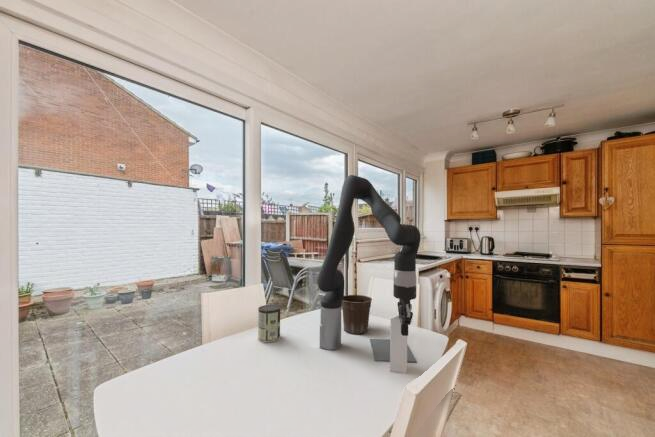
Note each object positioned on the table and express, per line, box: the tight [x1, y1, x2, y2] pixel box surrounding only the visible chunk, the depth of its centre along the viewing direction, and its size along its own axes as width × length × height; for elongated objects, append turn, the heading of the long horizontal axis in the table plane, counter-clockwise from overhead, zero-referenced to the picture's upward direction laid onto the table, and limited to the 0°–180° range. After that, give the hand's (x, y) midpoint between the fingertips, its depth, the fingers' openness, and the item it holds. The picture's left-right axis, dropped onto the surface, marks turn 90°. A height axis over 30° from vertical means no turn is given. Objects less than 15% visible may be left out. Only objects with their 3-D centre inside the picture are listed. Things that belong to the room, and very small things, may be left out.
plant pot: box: [341, 294, 373, 335], centre depth 144 cm, size 16×16×16 cm
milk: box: [389, 310, 408, 374], centre depth 105 cm, size 6×6×22 cm
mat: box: [369, 338, 418, 364], centre depth 120 cm, size 16×21×1 cm
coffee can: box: [257, 304, 281, 343], centre depth 132 cm, size 10×10×14 cm
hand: (404, 334), depth 96 cm, fingers closed
